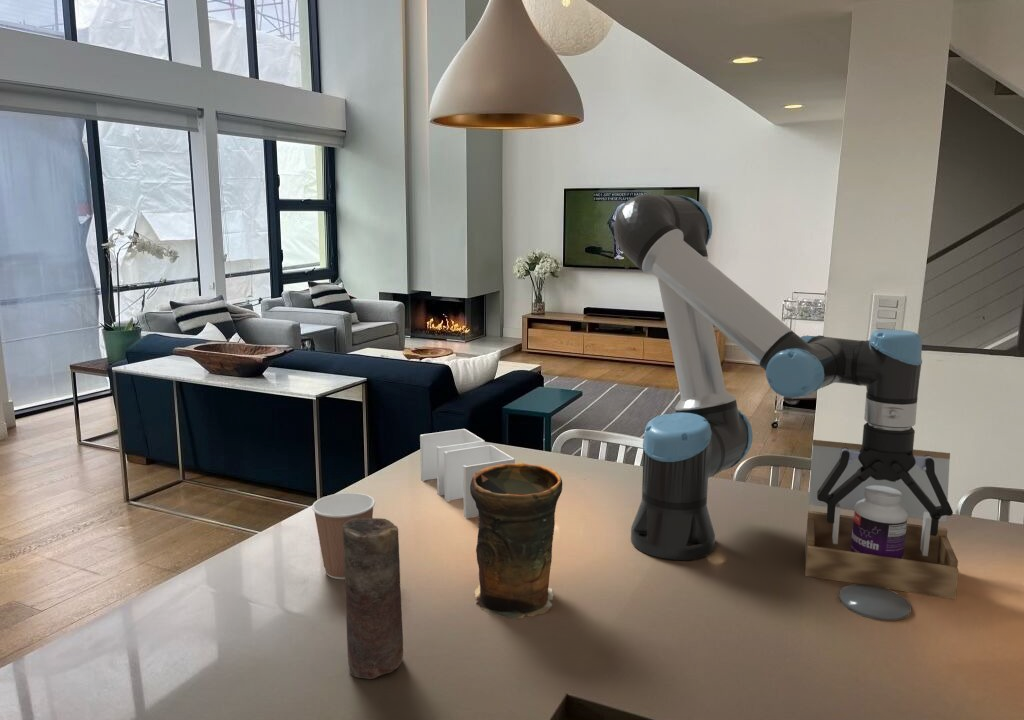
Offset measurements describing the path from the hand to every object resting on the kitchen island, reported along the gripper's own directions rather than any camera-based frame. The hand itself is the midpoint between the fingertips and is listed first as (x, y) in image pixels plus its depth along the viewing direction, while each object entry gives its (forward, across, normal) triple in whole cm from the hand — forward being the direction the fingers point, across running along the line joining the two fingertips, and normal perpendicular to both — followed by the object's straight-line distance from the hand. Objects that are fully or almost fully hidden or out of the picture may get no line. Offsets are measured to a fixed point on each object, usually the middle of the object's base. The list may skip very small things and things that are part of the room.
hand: (878, 546), depth 126 cm
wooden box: (+4, 0, 0) cm, 5 cm away
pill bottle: (+5, 0, 0) cm, 5 cm away
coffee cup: (+4, -84, -32) cm, 90 cm away
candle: (+4, -65, -54) cm, 85 cm away
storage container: (+4, -80, +8) cm, 81 cm away
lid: (-9, 0, +8) cm, 12 cm away
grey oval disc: (+4, -1, -12) cm, 13 cm away
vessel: (+4, -54, -30) cm, 62 cm away
